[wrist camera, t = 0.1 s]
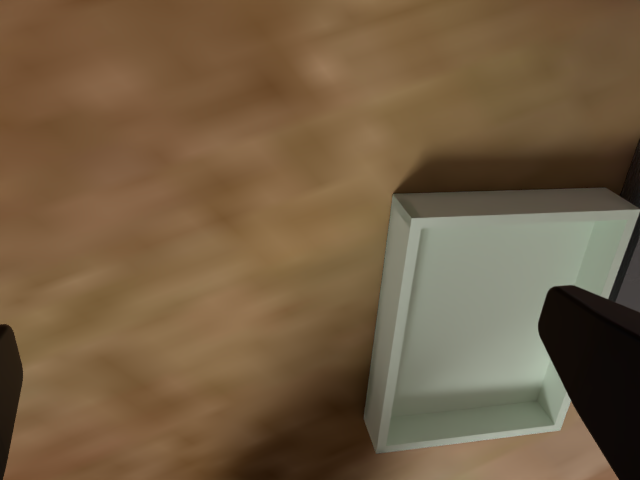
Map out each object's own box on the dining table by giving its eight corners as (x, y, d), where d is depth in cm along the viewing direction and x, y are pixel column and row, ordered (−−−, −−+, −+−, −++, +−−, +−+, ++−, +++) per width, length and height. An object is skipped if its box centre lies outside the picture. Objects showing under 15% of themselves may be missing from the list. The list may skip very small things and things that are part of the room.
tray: (536, 398, 34) (560, 430, 32) (363, 418, 32) (375, 453, 30) (605, 187, 28) (640, 209, 25) (392, 193, 25) (411, 218, 23)
